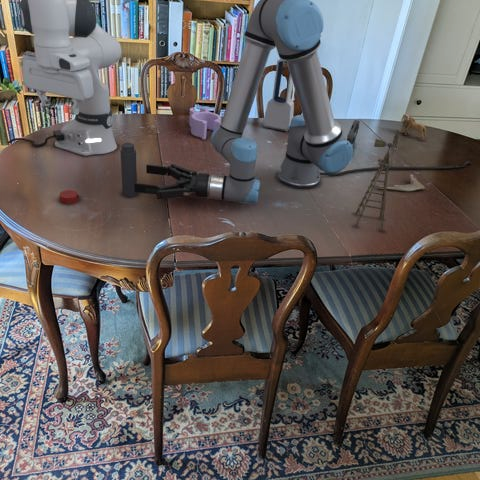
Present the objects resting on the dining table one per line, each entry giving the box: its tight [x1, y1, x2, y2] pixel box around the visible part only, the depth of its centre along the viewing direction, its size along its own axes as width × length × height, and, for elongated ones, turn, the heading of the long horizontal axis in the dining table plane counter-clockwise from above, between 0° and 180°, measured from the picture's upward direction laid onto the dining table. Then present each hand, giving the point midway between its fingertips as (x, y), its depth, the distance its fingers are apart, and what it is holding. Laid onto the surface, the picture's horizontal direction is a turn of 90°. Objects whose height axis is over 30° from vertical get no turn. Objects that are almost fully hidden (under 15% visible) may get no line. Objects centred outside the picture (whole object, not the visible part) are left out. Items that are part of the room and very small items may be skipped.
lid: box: [58, 189, 79, 205], centre depth 140 cm, size 5×5×2 cm
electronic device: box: [262, 58, 295, 132], centre depth 204 cm, size 12×8×30 cm, turn 71°
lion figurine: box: [400, 113, 429, 141], centre depth 217 cm, size 15×5×9 cm, turn 50°
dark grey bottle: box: [119, 142, 138, 198], centre depth 143 cm, size 4×4×16 cm
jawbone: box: [377, 173, 426, 193], centre depth 169 cm, size 9×20×2 cm, turn 126°
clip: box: [188, 106, 222, 140], centre depth 199 cm, size 20×12×7 cm, turn 23°
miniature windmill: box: [354, 129, 400, 232], centre depth 137 cm, size 9×8×30 cm
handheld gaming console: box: [346, 119, 361, 148], centre depth 194 cm, size 23×3×10 cm, turn 161°
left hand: (60, 110), depth 126 cm, fingers open, 8 cm apart
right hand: (140, 177), depth 144 cm, fingers open, 13 cm apart
